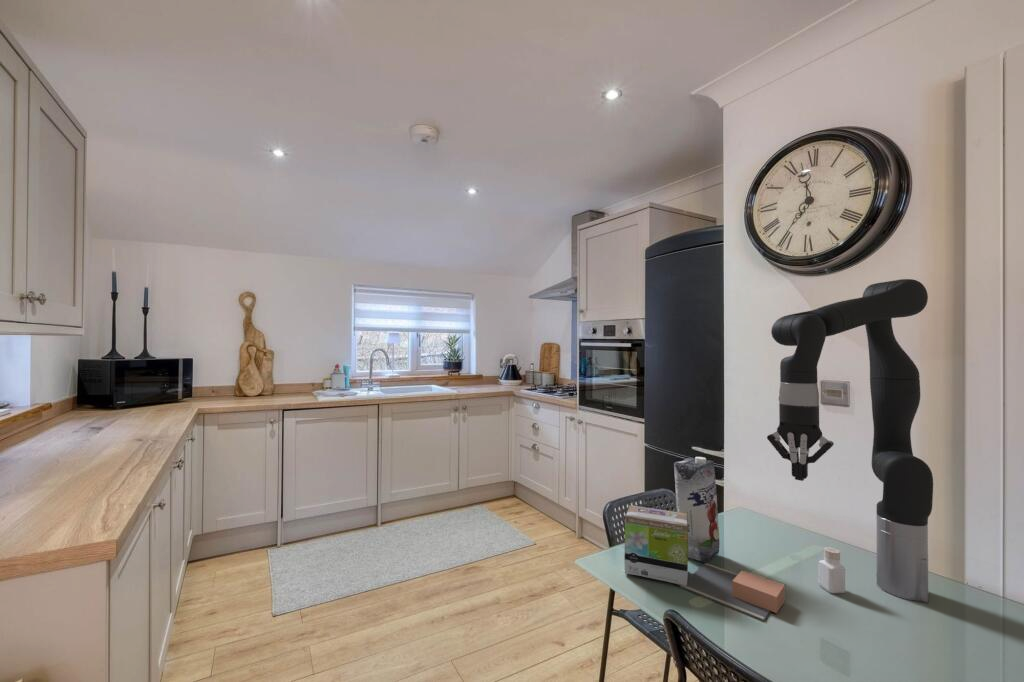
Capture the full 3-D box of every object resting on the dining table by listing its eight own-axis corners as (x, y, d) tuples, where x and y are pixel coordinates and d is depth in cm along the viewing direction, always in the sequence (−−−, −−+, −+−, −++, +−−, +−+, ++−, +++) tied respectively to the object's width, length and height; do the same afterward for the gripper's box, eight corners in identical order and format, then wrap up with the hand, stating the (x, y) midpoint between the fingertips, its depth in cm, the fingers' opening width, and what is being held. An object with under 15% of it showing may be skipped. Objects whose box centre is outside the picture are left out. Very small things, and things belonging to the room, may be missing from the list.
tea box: (623, 575, 108) (623, 515, 109) (628, 558, 117) (628, 503, 118) (688, 587, 102) (687, 524, 103) (687, 569, 111) (687, 511, 112)
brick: (784, 584, 98) (741, 570, 104) (776, 597, 93) (732, 580, 99) (784, 600, 98) (741, 584, 104) (776, 613, 93) (732, 596, 99)
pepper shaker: (846, 594, 101) (846, 553, 102) (830, 594, 101) (830, 553, 101) (832, 584, 105) (832, 546, 106) (817, 585, 105) (817, 546, 105)
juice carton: (675, 555, 119) (669, 457, 121) (692, 544, 126) (686, 452, 128) (707, 565, 113) (700, 461, 115) (723, 553, 120) (717, 455, 122)
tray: (782, 592, 102) (782, 589, 102) (763, 621, 91) (763, 619, 91) (705, 564, 115) (705, 562, 115) (679, 587, 103) (679, 585, 103)
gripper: (837, 403, 95) (838, 482, 95) (770, 399, 104) (770, 470, 104) (832, 406, 90) (833, 490, 89) (761, 401, 99) (762, 476, 99)
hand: (799, 479), depth 97 cm, fingers closed
